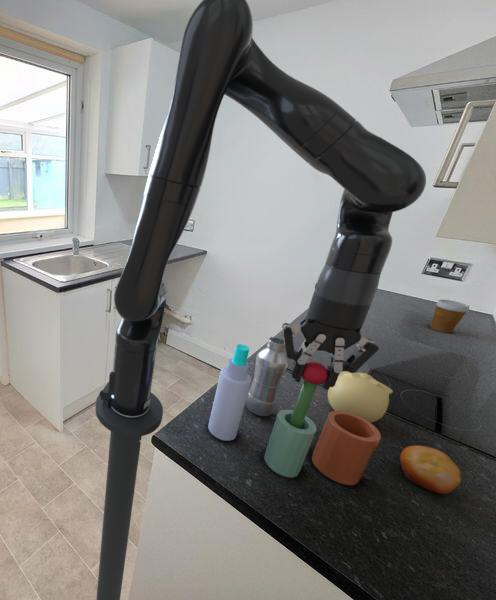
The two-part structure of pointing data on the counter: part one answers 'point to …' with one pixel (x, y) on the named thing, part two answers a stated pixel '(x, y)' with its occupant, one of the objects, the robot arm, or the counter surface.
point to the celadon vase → (289, 445)
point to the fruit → (430, 469)
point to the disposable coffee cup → (448, 315)
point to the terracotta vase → (345, 447)
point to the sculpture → (359, 396)
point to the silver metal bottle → (267, 377)
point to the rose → (307, 391)
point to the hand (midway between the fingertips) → (310, 382)
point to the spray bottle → (230, 396)
